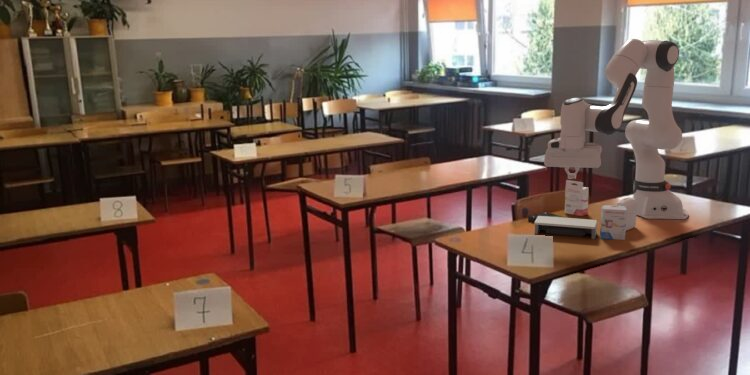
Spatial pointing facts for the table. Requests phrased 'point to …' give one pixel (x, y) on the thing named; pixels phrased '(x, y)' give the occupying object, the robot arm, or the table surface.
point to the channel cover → (566, 222)
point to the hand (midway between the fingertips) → (571, 178)
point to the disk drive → (534, 217)
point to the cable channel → (588, 231)
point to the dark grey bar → (565, 231)
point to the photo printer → (629, 211)
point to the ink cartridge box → (576, 198)
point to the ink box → (613, 222)
